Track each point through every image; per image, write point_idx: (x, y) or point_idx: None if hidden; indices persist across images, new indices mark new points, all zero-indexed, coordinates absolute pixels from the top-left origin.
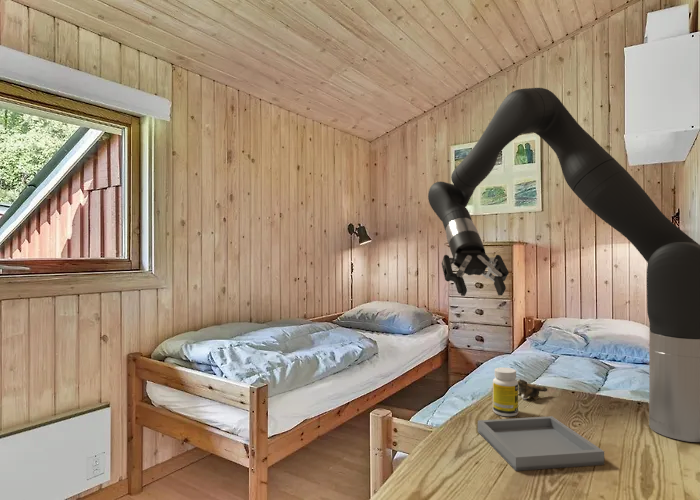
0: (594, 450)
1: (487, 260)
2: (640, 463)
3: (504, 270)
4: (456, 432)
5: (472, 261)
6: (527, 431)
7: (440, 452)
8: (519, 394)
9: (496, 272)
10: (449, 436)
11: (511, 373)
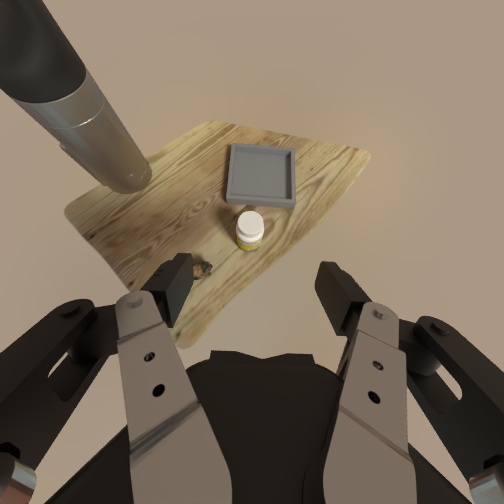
0: (237, 145)
1: (80, 485)
2: (207, 147)
3: (65, 322)
4: (310, 211)
5: (290, 461)
6: (255, 194)
7: (332, 185)
8: (210, 273)
9: (140, 313)
10: (318, 205)
11: (249, 211)
